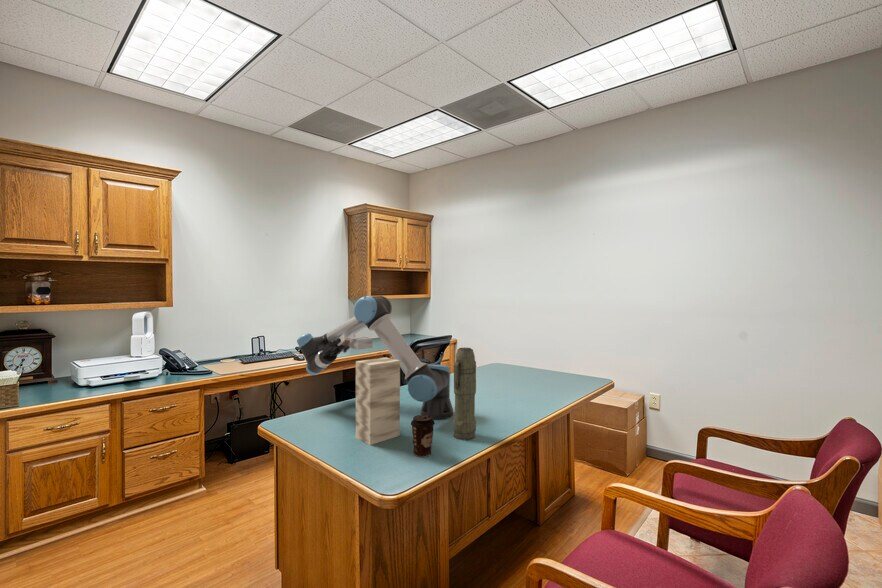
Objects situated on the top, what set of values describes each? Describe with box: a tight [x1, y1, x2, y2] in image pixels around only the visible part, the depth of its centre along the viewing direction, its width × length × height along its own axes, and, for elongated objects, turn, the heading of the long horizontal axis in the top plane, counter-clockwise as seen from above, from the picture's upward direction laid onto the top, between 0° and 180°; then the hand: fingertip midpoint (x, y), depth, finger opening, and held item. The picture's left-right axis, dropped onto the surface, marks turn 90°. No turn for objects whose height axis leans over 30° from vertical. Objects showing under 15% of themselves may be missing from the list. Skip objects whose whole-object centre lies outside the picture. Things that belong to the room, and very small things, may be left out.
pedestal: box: [354, 356, 401, 446], centre depth 162 cm, size 10×14×30 cm
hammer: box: [337, 336, 373, 350], centre depth 175 cm, size 19×7×4 cm, turn 44°
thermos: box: [452, 347, 477, 441], centre depth 163 cm, size 9×12×35 cm
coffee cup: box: [410, 414, 436, 458], centre depth 146 cm, size 9×8×13 cm
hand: (349, 336), depth 176 cm, fingers closed on hammer, 4 cm apart
